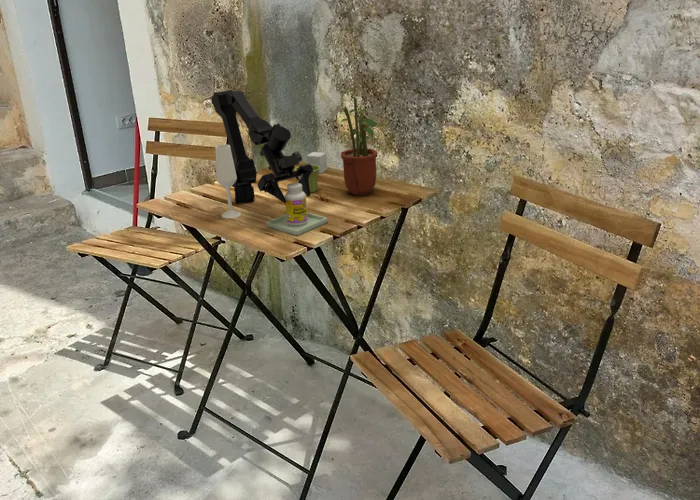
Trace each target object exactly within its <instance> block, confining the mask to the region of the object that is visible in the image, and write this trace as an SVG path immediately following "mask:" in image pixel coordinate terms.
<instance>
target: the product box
mask: <svg viewBox="0 0 700 500" xmlns="http://www.w3.org/2000/svg"><path fill="white" fill-rule="evenodd" d="M306 164H310V165H316V166H319V167H320V169H319V173H318V175H321V174H323V173H324V172H326V171H327V170H328V165H327V164H328V163H327V153H326V152H320V151H319V152H317V151H312V152H311V153H308V154H307V155H306Z"/></svg>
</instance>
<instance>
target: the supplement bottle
mask: <svg viewBox="0 0 700 500" xmlns="http://www.w3.org/2000/svg"><path fill="white" fill-rule="evenodd" d="M286 186H287V188H286V189H287V192H286V193H285V195H284V197H285V199H286V201H287V202H286V203H285V212H286V213H285V214H286V216H287V223H288V224H289V225H292V226H300V225H304V224H306V223H307V213H308V210H307V194H306V193H304V192H303V191H302V184H300V183H298V182H292V183H289V184H287V185H286Z"/></svg>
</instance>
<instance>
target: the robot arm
mask: <svg viewBox="0 0 700 500" xmlns="http://www.w3.org/2000/svg"><path fill="white" fill-rule="evenodd" d="M211 104H212V106H213V108H214V111H215V113H216V114H217V115H219V117H220V118H221V119H222V123H223V127H224V131H225V135H226V138H227V141H228V145H230V148H231V153H232V157H233V162H234V166H235V171H236V176H237V179H236V182H235V183H234V184H233V185H232V187H231V188H233V189H234V190H233V191H234V201H235V205H236V204H248V203H254V202H255V201H254V200H255V189H254V186H253V185H252V184H256V182H257V176H258V171H257V168H256V165H255V161H254V159H253V158H250V157H248V155H247V153H246V149H245V145H244V141H243V138H242V133H241V130H240V126H239V122H238V118H237V114H238V115H239V117H240V118H241V119H242V121H243V122H244V124H245V125H246V127H247V128H248V136H249V138H250V140H251V142H252V143H253V145H255V146H260V145H263V146H261V147H260V151H259V152H260V153H259V155H260V157H263V156H264V158H265V160H266V162H267V163H268V171H272V172H271V173H267V174H262V175H261V177H260V179H259V180H258V182H257V188H258V190H259V191H260V192H263V191H264V193H268V194H269V195H272V196H274V197H275V198H276V199H278V200H279V201H281V202H282V203H284V204H286V202H287V201H286V199H285V195H284V193H283V192H282V190H281V188H280V186H279V183H280V182H283V181H286V180H290V179H294V178H295V179H296V180H297V183H300V184H302V189H303V190H304V192H305V195H306V197H311V192H310V188H309V176H310V175H311V173H312V172H313V170H314V169H313V167H312V166H311V165H310V164H307V163H306V164H302V165H300V162H302V161H303V157H302V154H301V152H299V151H294V152H293V153H291V155H285V154H284V153H283V150H285V148H286V146H287V145H288V143H289V141H290V139H291V137H292V135H291V131H290V130H289V129H287V128H286V127H284V126H281V125H280V123H276V124H273V126H272V125H271V124H270V123H269V122H268V121H267V120H265V119H262V118H261V117H260V116H259V115H258V114H257V112H256V111H255V109H254V108H253V106H252V105H251V104H250V102H249V101H248V100H247V98H246V97H245V93H244V92H243V91H241V90H236V91H233V90H232V89H229V90H228V89H227V90H223V91H222V90H221V91H215V92H213V95H212V96H211ZM298 165H299V166H300V167H299V166H298ZM296 166H298V167H299V168H298V170H297V171H295V170H294V169H295V168H296ZM293 170H294V171H293ZM298 180H299V181H298Z"/></svg>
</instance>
